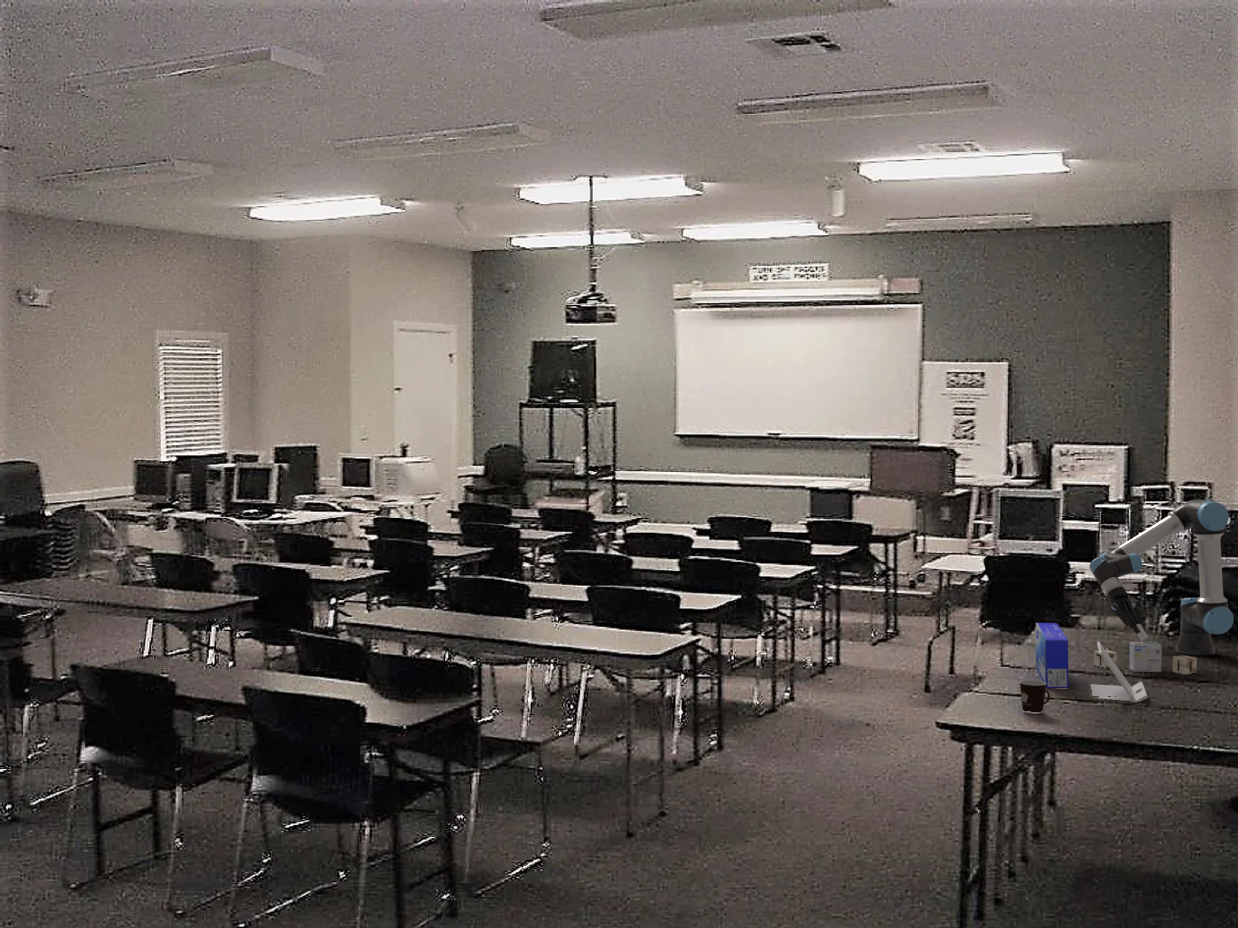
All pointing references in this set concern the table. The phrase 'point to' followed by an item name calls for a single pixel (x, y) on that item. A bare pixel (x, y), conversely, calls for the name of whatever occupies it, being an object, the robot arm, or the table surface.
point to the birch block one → (1184, 664)
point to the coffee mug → (1033, 695)
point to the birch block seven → (1100, 661)
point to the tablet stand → (1121, 692)
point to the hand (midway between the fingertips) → (1144, 639)
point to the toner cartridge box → (1052, 655)
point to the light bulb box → (1145, 656)
